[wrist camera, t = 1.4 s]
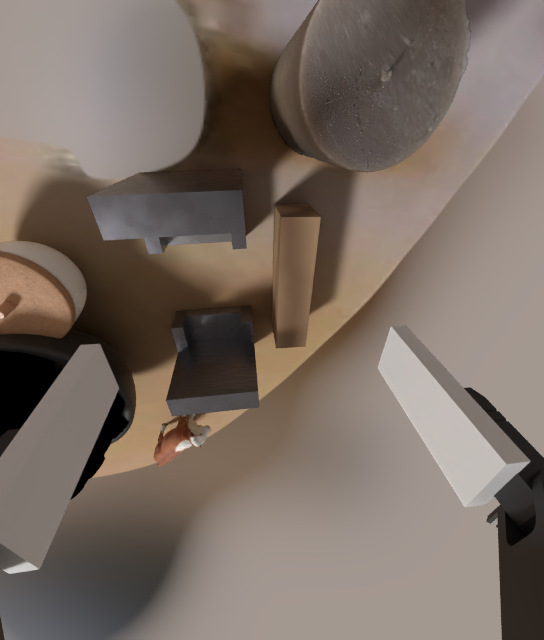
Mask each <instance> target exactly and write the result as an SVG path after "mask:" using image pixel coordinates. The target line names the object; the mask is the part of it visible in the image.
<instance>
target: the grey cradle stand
mask: <svg viewBox="0 0 544 640" xmlns="http://www.w3.org/2000/svg"><path fill="white" fill-rule="evenodd" d="M87 199H88V201H89V204H90V207H91V209H92V212H93V214H94V217H95V219H96V222H97V224H98V227H99V230H100V232H101V235H102V237H103V240H120V239H138V238H144V241H145V244H146V247H147V251H148V254H161V253H163V252H164V251H165V249H166V247H167V245H179V244H197V243H214V242H231V241H232V245H233V249H244V248H247V247H246V234H245V233H246V231H245V218H244V205H243V193H242V182H241V171H240V169H224V170H198V171H171V172H145V173H137V174H135V175H133V176H131V177H128V178H126V179H124V180H122V181H120V182H118V183H115V184H113V185H111V186H109V187H107V188H105V189H102V190H100V191H98V192H96V193H94V194H92V195H89V196H87ZM171 331H172V334H173V337H174V341H175V344H176V347H177V351H178V356H177V360H176V364H175V367H174V371H173V375H172V379H171V383H170V387H169V391H168V395H167V398H166V402H167V404H168V407H169V409H170V412H171V415H172V416H181V415H190V414H200V413H210V412H219V411H229V410H238V409H248V408H257V407H259V397H258V385H257V372H256V360H255V348H254V336H253V323H252V311H251V306H240V307H227V308H214V309H200V310H187V311H176V314H175V317H174V320H173V323H172V326H171Z"/></svg>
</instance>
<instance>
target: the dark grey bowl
mask: <svg viewBox="0 0 544 640" xmlns="http://www.w3.org/2000/svg"><path fill="white" fill-rule="evenodd" d="M88 344H100V345H101V347H102V350H103V352H104V354H105V357H106V359H107V361H108V363H109V366H110V368H111V370H112V373H113V375H114V377H115V380H116V382H117V384H118V386H119V390H118V392H117V395H116V397H115V399H114V401H113V404H112V406H111V408H110V410H109V413H108V415H107V417H106V419H105V422H104V424H103V426H102V429H101V431H100V433H99V435H98V438H97V440H96V442H95V444H94V447H93V449H92V451H91V454H90V456H89V458H88V460H87V463H86V465H85V467H84V469H83V472H82V474H81V476H80V478H79V481H78V483H77V485H76V488H75V490H74V492H73V494H72V497H71V499H73V498H74V497H75V496H76V495H77V494H78V493H80V491H81V490H82V489H83V488H84V485H85V483H86V482H87V481H88V479H90V478H91V477H93V476H94V475H95V473H96V472H97V471H98V469H99V468H100V467H101V465H102V463H103V462H104V460H105V457H104V454H105V452H106V451H107V449H108V447H109V446H110V444H112V443H114V442H115V441H117V440H119V439H120V438H121V437H122V436H123V435H124V434H125V433H126V432H127V431H128V429H129V428H130V426H131V424H132V422H133V418H134V414H135V408H136V391H135V384H134V381H133V377H132V375H131V372H130V370H129V368H128V366H127V364H126V363H125V361H124V360H123V359H122V357H121V356H120V355H119V354H118V353H117V352H116V351H115V350H114V349H113V348H112V347H111V346H109V345H108V344H107V343H105V342H104V341H102V340H100V339H99V338H97V337H95V336H93V335H90V334H88V333H85V332H82V331H79V330H76V329H70V330H69V332H68V333H67V334H66V335H65V336H64V337H63V338H55V337H48V336H42V335H34V334H2V335H0V437H1V436H2V435H3V434H4V433H6V432H7V431H8V430H14V429H21V427H22V426H23V425H24V423H25V422H26V421H27V419H28V418H29V416H30V415H31V414H32V412H33V411H34V409H35V408H36V407H37V405H38V404H39V402H40V401H41V400H42V398H43V397H44V395H45V394H46V393H47V391H48V390H49V388H50V387H51V386H52V384H53V383H54V381H55V380H56V379H57V377H58V376H59V374H60V373H61V372H62V370H63V369H64V367H65V366H66V365H67V363H68V362H69V360H70V359H71V358H72V356H73V355H74V353H75V352H76V351H77V349H78V348H79V346H80V345H88ZM71 499H70V500H71Z"/></svg>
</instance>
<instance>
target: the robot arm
mask: <svg viewBox="0 0 544 640" xmlns="http://www.w3.org/2000/svg"><path fill="white" fill-rule="evenodd" d="M378 370H379V371H380V373H381V375H382V376H383V378H384V379H385V381H386V383H387V384H388V386H389V387H390V389H391V390H392V392H393V394H394V395H395V397H396V398H397V400H398V402H399V403H400V405H401V406H402V408H403V410H404V411H405V412H406V414H407V416H408V418H409V419H410V421H411V422H412V424H413V426H414V427H415V429H416V430H417V432H418V434H419V435H420V436H421V438H422V440H423V441H424V443H425V445H426V446H427V448H428V449H429V451H430V453H431V454H432V456H433V457H434V459H435V461H436V462H437V464H438V465H439V467H440V469H441V470H442V472H443V473H444V475H445V476H446V478H447V480H448V481H449V483H450V485H451V486H452V488H453V489H454V491H455V492H456V494H457V496H458V497H459V499H460V500H461V502H462V504H463V505H464V507H471V506H479V505H485V504H487V503H488V502H489V501H490V500H491V499H492V498H493V497H494V496H495V497H496V499H497V500H498V502H499V503H500V504H501V505H500V506H499V507H497V508H496V509H495V510H494V511H493V512H492V513H491V514H490V515H489V516H488V518H487V522H488V523H492V522H493V521H494V520H495V519H496V518H498V524H497V525H496V527H497V528H498V539H499V541H498V543H499V571H500V597H501V625H502V640H544V458H543V457H542V456H541V455H540V454H539V453H538V452H537V451H536V450H535V449H534V447H533V446H532V445H531V444H530V443H529V442H528V441H527V440H526V439H525V438H524V437H523V436H522V435H521V434H520V433H519V432H518V431H517V430H516V429H515V428H514V427H513V426H512V425H511V424H510V423H509V422H507V421H506V419H505V417H504V416H502V414H501V413H500V412H499V411H498V412H497V411H496V408H495V407H494V406H493V405H492V404H491V403H490V402H489V401H488V400H487V399H486V398H485V397H484V396H482V395H481V394H479V393H478V392H476V391H475V390H473V389H472V388H463V387H462V386H461V385H460V384H459V383H458V381H457V380H456V379H455V378H454V377H453V376H452V375H451V374H450V373H449V372H448V371H447V369H446V368H445V367H444V366H443V365H442V364H441V363H440V362H439V361H438V360H437V359H436V357H435V356H434V355H433V354H432V353H431V352H430V351H429V350H428V349H427V348H426V347H425V345H424V344H423V343H422V342H421V341H420V340H419V339H418V338H417V337H416V336H415V335H414V333H412V331H411V330H410V329H409V328H408V327H407V326H391V328H390V331H389V334H388V338H387V341H386V344H385V347H384V350H383V353H382V356H381V359H380V362H379V365H378ZM118 390H119V386H118V384H117V382H116V380H115V377H114V375H113V373H112V370H111V368H110V366H109V363H108V361H107V359H106V357H105V354H104V352H103V350H102V347H101V345H100V344H88V345H80V346H79V348H78V349H77V351H76V352H75V353H74V355H73V356H72V358H71V359H70V360H69V362H68V363H67V365H66V366H65V367H64V369H63V370H62V372H61V373H60V374H59V376H58V377H57V379H56V380H55V381H54V383H53V384H52V386H51V387H50V388H49V390H48V391H47V393H46V394H45V395H44V397H43V398H42V400H41V401H40V402H39V404H38V405H37V407H36V408H35V409H34V411H33V412H32V414H31V415H30V416H29V418H28V419H27V421H26V422H25V423H24V425H23V426H22V427H21V429H14V430H8V431H7V432H6V433H4V434H3V435H2V436H1V437H0V569H2V570H4V571H6V572H7V573H9V574H11V573H17V572H24V571H30V570H37V569H40V567H41V565H42V562H43V560H44V558H45V555H46V553H47V551H48V548H49V546H50V544H51V542H52V540H53V537H54V535H55V533H56V530H57V528H58V526H59V524H60V522H61V519H62V517H63V514H64V512H65V510H66V508H67V506H68V503H69V501H70V499H71V497H72V494H73V492H74V490H75V488H76V485H77V483H78V481H79V478H80V476H81V474H82V472H83V469H84V467H85V465H86V463H87V460H88V458H89V456H90V454H91V451H92V449H93V447H94V444H95V442H96V440H97V438H98V435H99V433H100V431H101V429H102V426H103V424H104V422H105V419H106V417H107V415H108V413H109V410H110V408H111V406H112V404H113V401H114V399H115V397H116V395H117V392H118ZM0 640H4V635H3V629H2V623H1V618H0Z"/></svg>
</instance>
